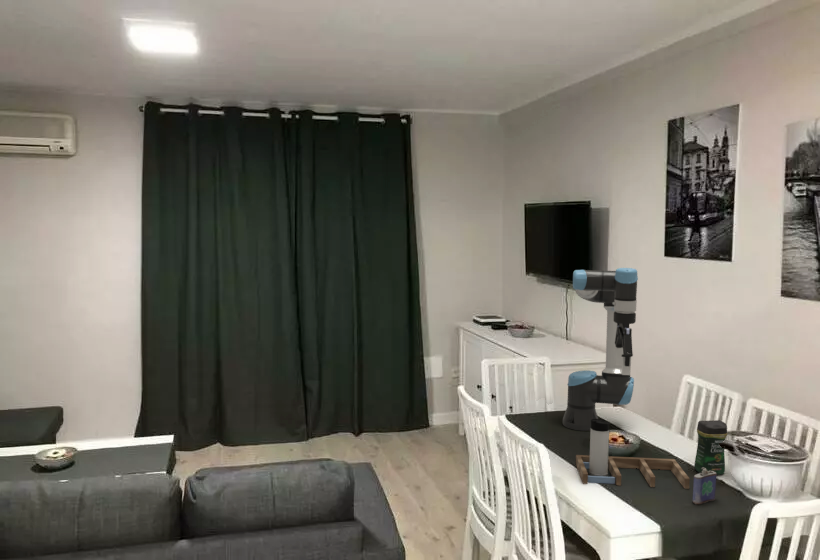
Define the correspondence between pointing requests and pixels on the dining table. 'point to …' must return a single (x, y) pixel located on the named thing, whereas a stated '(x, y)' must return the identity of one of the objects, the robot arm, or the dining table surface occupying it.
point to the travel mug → (599, 448)
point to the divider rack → (638, 463)
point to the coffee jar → (710, 446)
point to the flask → (704, 486)
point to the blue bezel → (599, 477)
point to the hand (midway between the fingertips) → (622, 369)
